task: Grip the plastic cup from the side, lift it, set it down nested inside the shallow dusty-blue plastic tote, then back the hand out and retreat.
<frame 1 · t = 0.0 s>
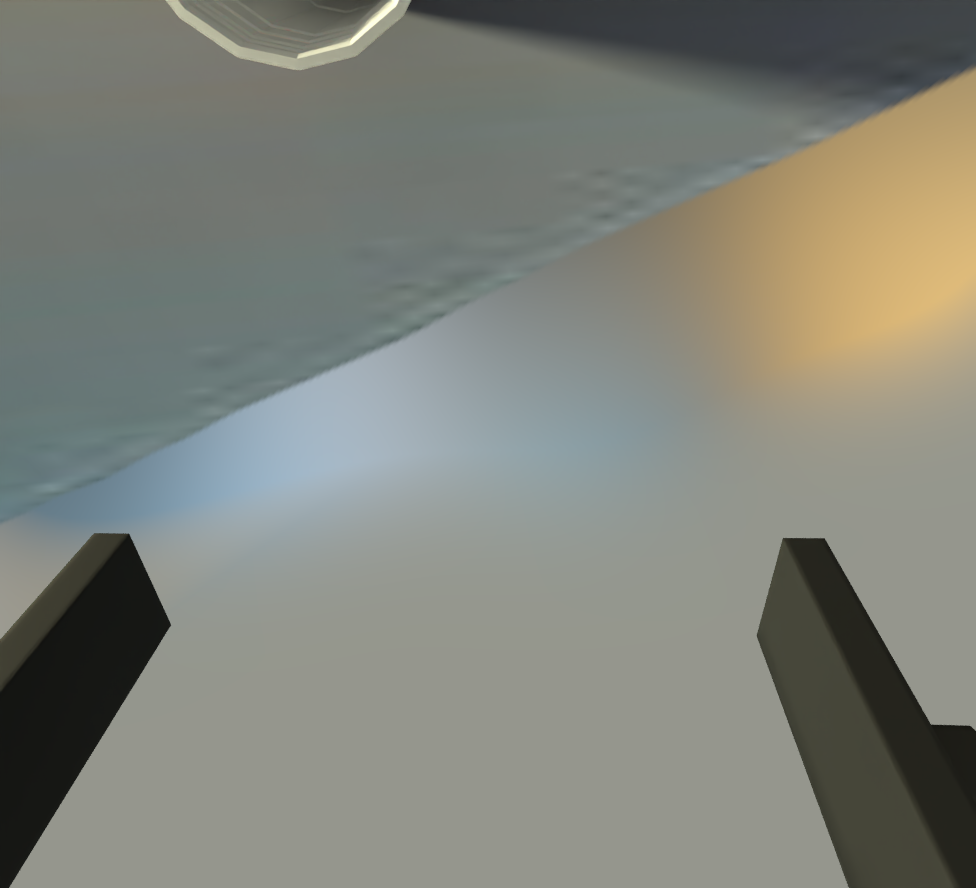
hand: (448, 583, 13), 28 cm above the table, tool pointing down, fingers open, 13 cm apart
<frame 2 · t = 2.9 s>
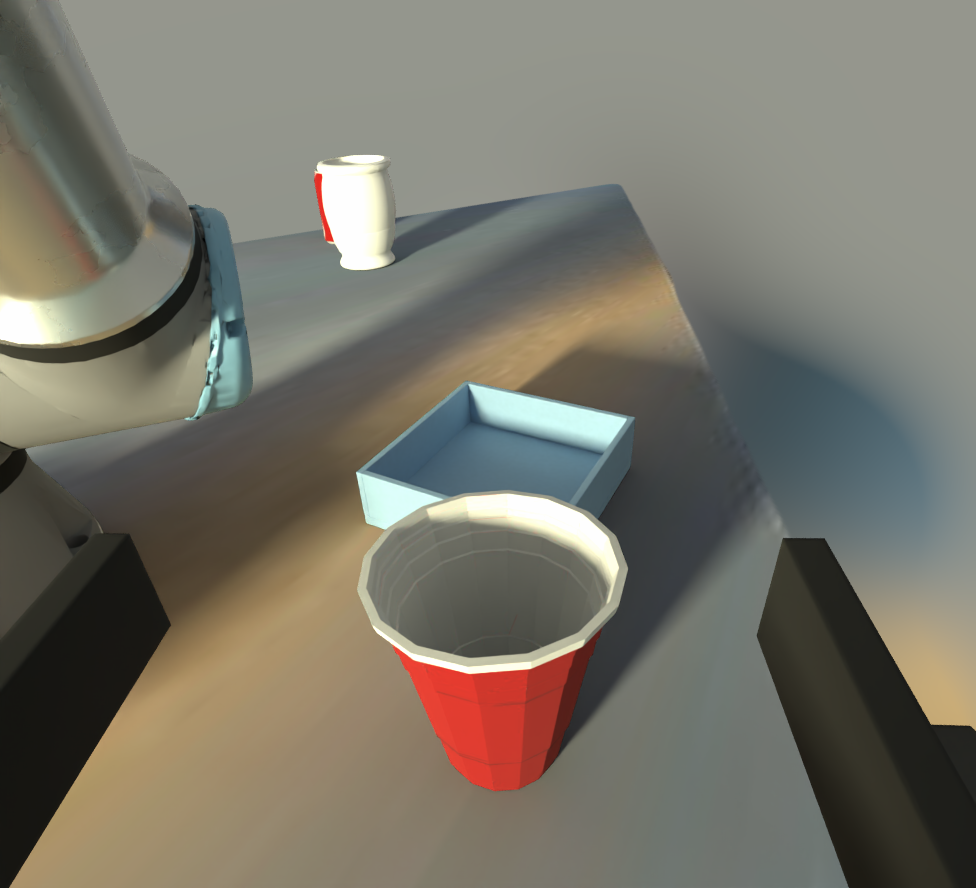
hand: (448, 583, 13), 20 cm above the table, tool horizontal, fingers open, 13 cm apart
jar: (368, 264, 100), on the table
plastic cup: (501, 733, 32), on the table
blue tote: (504, 493, 49), on the table
soda can: (341, 241, 112), on the table
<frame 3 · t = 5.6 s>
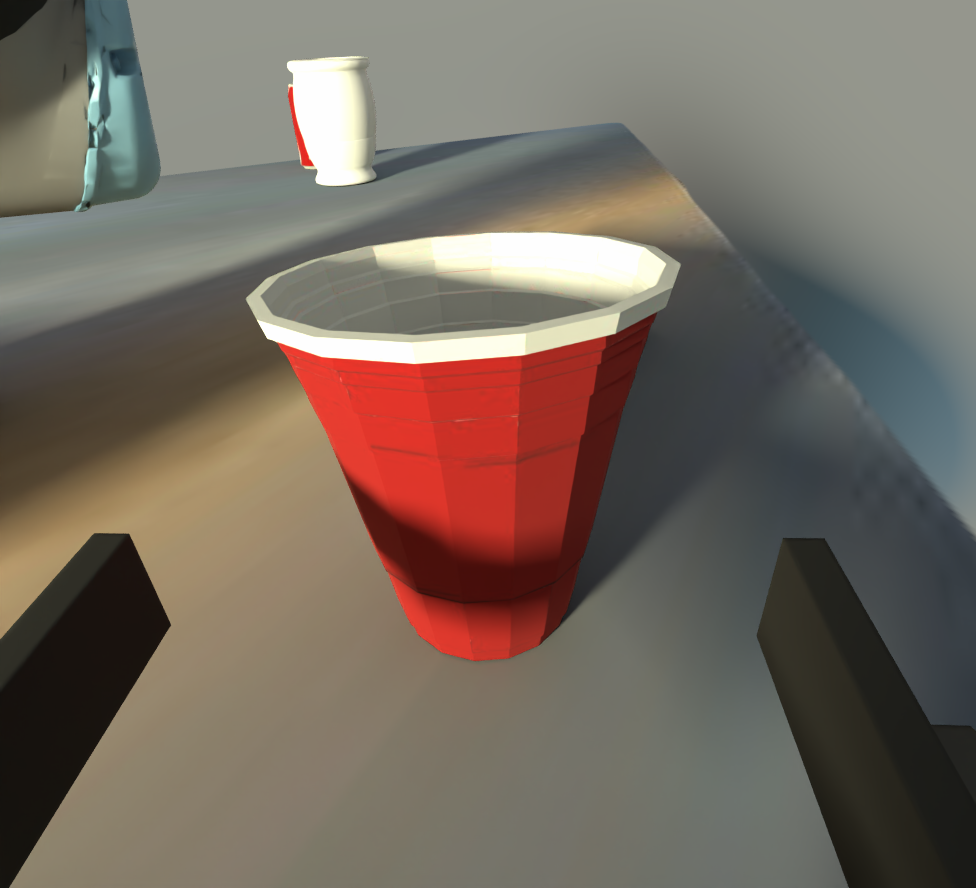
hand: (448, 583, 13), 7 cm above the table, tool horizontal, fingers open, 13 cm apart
jar: (347, 182, 91), on the table
plastic cup: (485, 595, 23), on the table
soda can: (319, 167, 103), on the table
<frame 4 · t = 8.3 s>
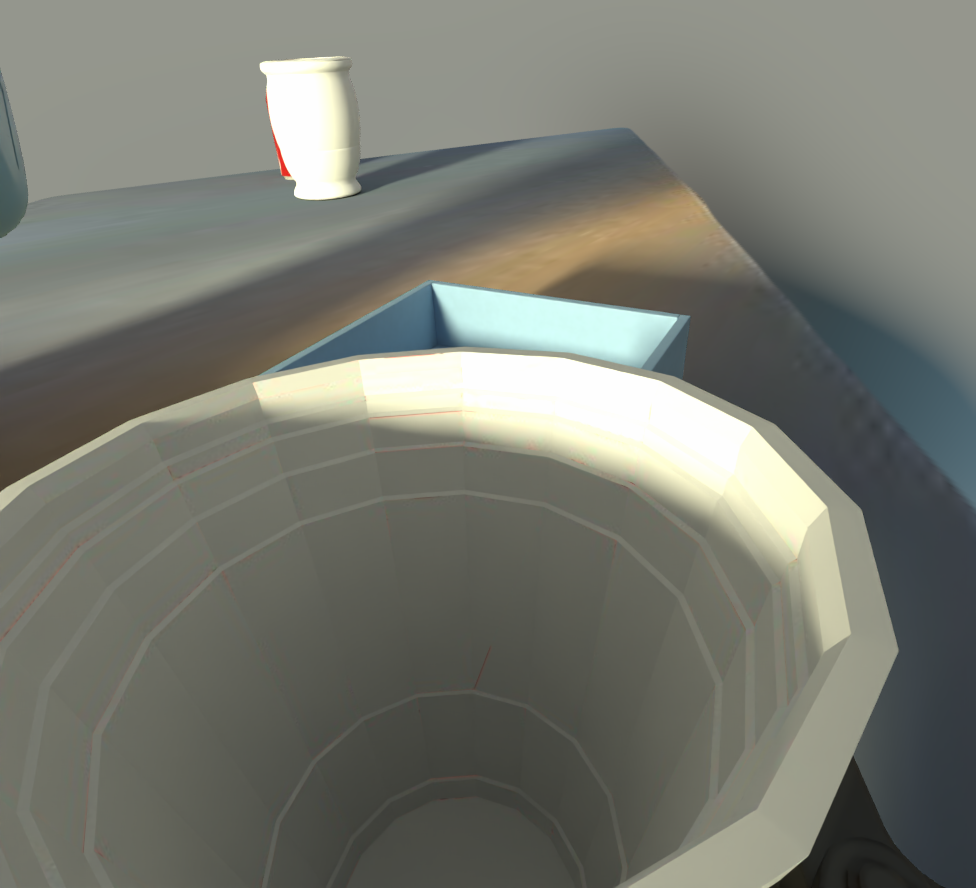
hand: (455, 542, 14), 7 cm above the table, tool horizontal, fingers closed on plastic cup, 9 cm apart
jar: (328, 195, 82), on the table
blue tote: (483, 438, 31), on the table
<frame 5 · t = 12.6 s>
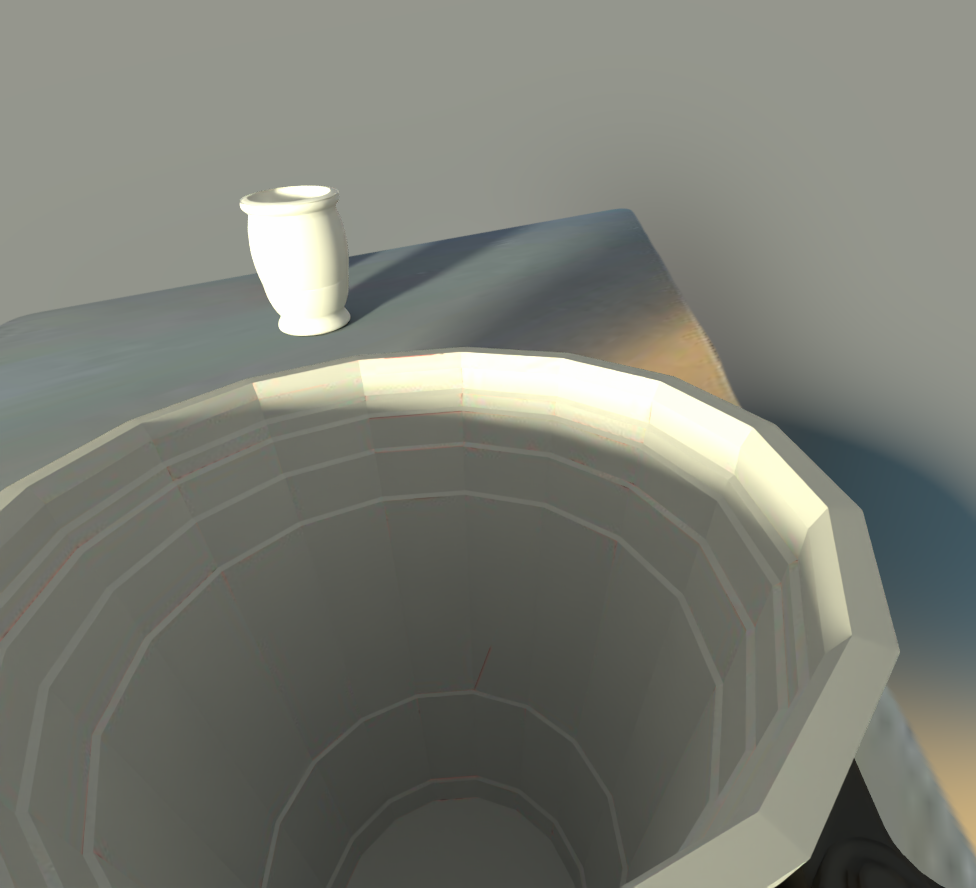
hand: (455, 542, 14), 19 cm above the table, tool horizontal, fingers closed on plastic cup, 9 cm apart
jar: (315, 325, 77), on the table
when the fingers open (8 cm above the table, at t = 17.0 s): plastic cup stays where it is, resting on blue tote.
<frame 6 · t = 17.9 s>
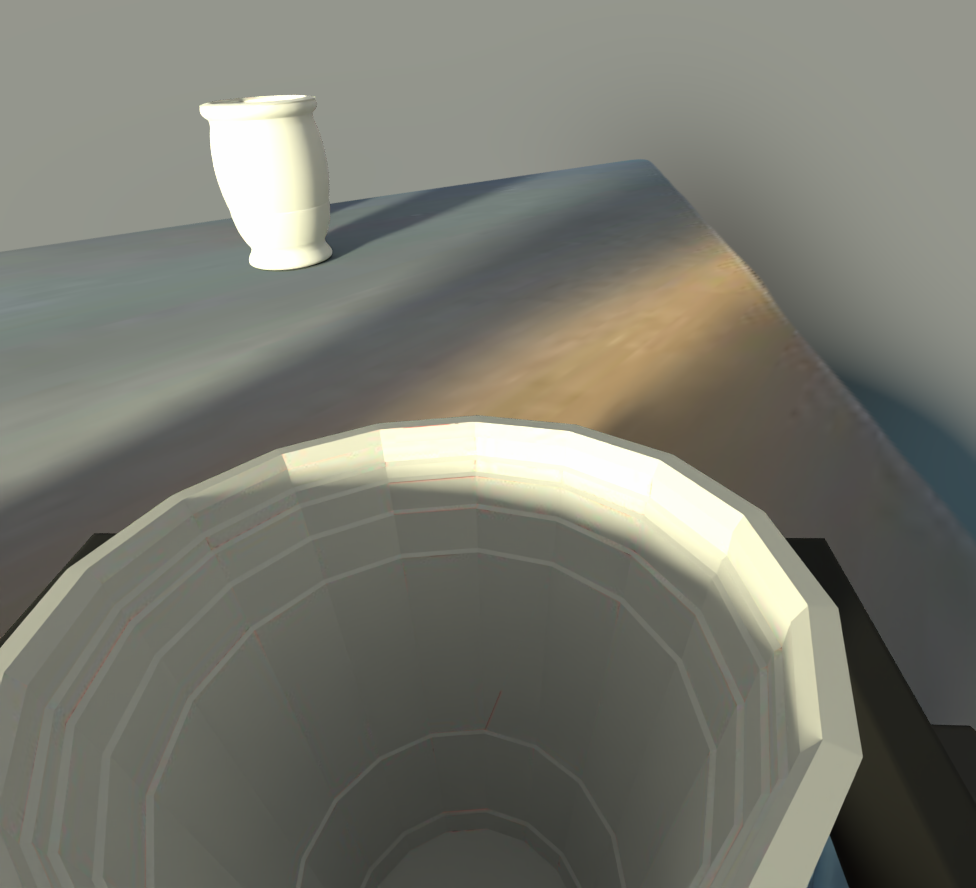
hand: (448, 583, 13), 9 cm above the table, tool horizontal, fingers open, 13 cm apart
jar: (292, 261, 67), on the table
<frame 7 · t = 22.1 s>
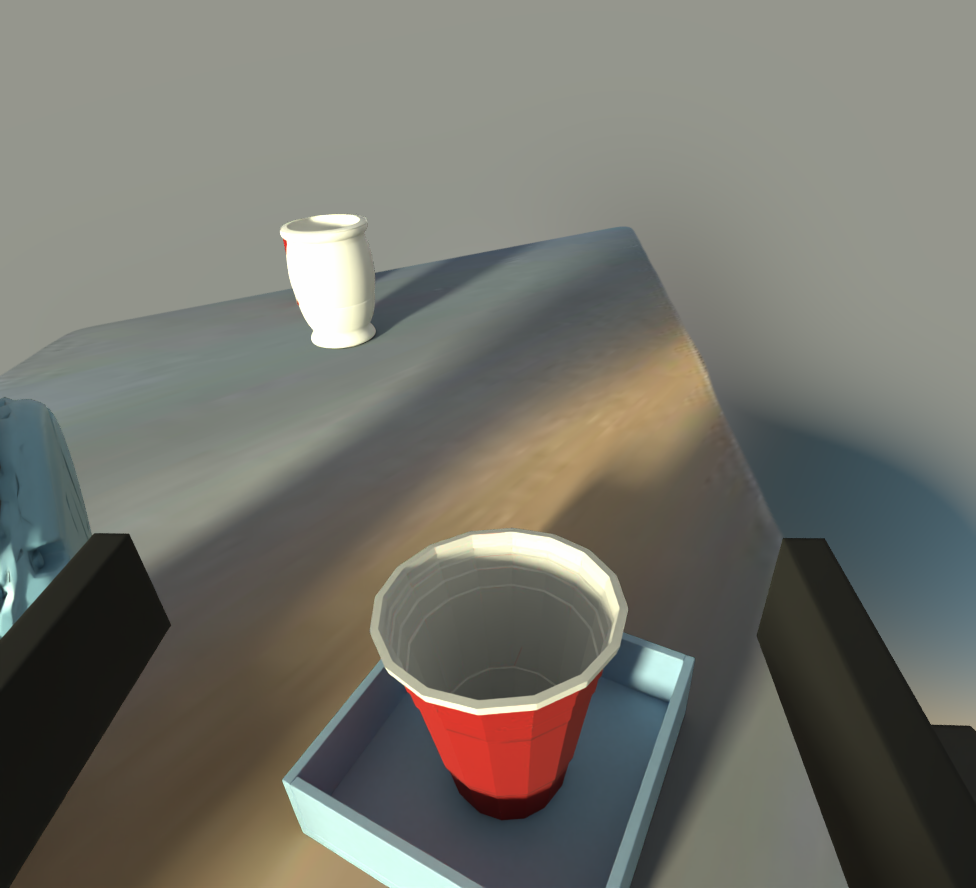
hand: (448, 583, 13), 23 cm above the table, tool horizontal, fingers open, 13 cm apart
jar: (344, 338, 86), on the table
plastic cup: (507, 762, 33), point 1 cm above the table, touching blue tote
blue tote: (506, 768, 34), on the table
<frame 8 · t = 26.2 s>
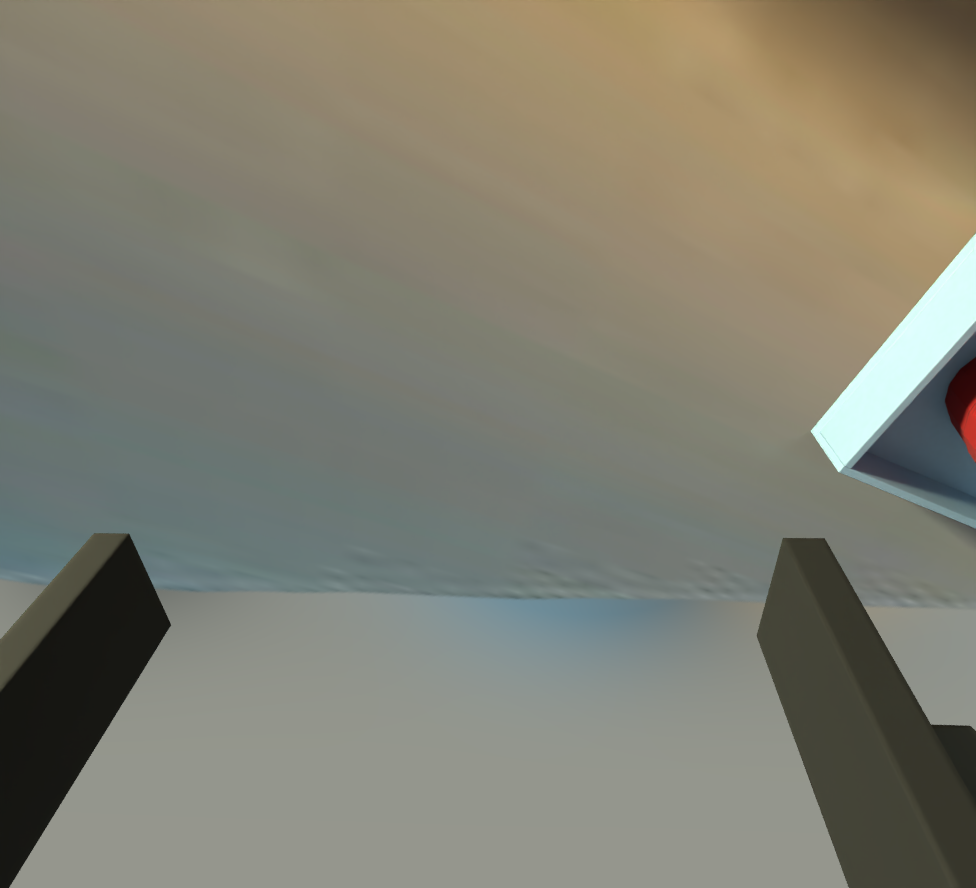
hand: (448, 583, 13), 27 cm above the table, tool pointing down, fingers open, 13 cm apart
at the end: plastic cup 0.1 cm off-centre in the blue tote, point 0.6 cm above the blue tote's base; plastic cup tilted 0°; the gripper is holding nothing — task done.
